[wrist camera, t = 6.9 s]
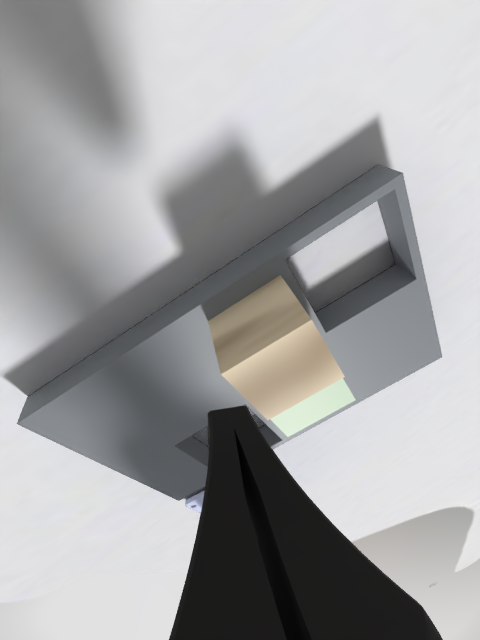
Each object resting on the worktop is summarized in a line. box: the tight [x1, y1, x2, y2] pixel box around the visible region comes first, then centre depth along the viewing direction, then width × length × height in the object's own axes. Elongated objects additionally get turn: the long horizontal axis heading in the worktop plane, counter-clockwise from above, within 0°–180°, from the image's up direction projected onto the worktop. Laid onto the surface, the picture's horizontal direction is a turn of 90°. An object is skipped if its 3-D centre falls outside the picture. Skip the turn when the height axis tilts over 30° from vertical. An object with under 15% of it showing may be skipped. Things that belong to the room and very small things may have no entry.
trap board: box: [17, 165, 442, 501], centre depth 22 cm, size 15×24×2 cm, turn 121°
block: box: [208, 275, 345, 420], centre depth 16 cm, size 4×4×4 cm
